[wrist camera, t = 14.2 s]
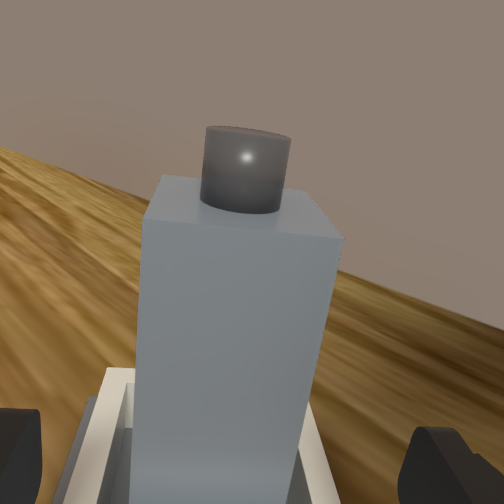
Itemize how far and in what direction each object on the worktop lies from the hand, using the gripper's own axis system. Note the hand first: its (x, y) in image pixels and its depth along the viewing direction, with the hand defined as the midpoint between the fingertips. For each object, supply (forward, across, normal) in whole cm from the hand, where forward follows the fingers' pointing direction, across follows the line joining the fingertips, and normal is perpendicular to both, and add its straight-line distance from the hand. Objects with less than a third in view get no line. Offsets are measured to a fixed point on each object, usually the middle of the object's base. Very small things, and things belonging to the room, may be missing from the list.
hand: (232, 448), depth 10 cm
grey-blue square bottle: (+6, 0, +8) cm, 10 cm away
